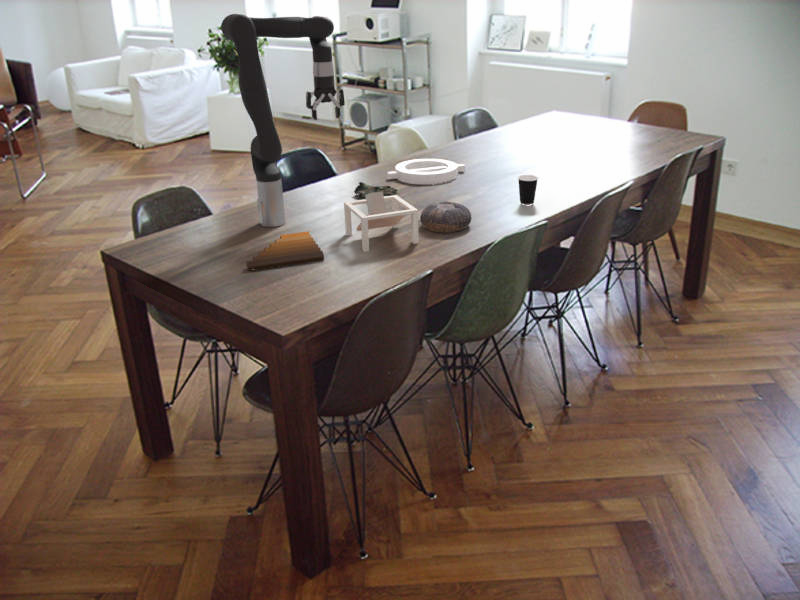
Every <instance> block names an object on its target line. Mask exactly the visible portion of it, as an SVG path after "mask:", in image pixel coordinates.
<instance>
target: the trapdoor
mask: <svg viewBox="0 0 800 600" xmlns="http://www.w3.org/2000/svg"><path fill="white" fill-rule="evenodd" d="M402 210H408V209H406V208H404V209H399V210H398V211H402ZM389 212H396V211H392V210H391V211H386V212H384V213H389ZM377 214H382V213H377ZM368 215H369V214H367V215H365V216H368ZM370 215H375V214H370ZM404 217H406V215H399V216H393V217H386V218H379V219H373V220H368V230H374V229H380V228H386V227H387V228H388V227H393V226H394V225H397V224H398V223H399V224H400V222H401V221H402V219H403V218H404ZM356 232H362V231H361V222H360V223H359V225H358V226H357V227H356Z"/></svg>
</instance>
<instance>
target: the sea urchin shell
mask: <svg viewBox="0 0 800 600" xmlns="http://www.w3.org/2000/svg"><path fill="white" fill-rule="evenodd" d="M419 218H420V223H421V225H423V227H424V228H425V229H427V230H430V231H431V232H434V233H435V232H436V233H442V234H444V233H445V234H448V233H453V232H454V231H455V232H458V231H460V230H462V231H463V230H464V229H466V228H467V227H468V226H469V225H470V224H471V223H472V222H471V221H472V212H471V211H470V209H469V208H468V207H466V206H465V205H463V204H461V203H457V202H455V201H447V200H445V201H440V202H435V203H431V204H429V205H427V206H425V207H424V208H423V209H422V211H421V214H420V216H419Z"/></svg>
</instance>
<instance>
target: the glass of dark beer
mask: <svg viewBox="0 0 800 600" xmlns="http://www.w3.org/2000/svg"><path fill="white" fill-rule="evenodd" d="M538 179H539V177H538V176H537V175H534V174H524V175H523V174H522V175H519V176H518V177H517V180H518V192H519V193H518V194H519V203H520V205H521V204H524V205H530V204H533V205H534V203H535V198H536V192H537V191H536V190H537V186H538Z"/></svg>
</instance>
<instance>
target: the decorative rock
mask: <svg viewBox="0 0 800 600" xmlns="http://www.w3.org/2000/svg"><path fill="white" fill-rule="evenodd" d="M382 191H383V196H384V197H385V196H392V195H397V193H396V192H398V191H399V190H397V188H394V187H391V185H386V186H385V185H384V186H383V185H381V186H372V185H369V184H366V183H365V182H363V181H360V182H358V185H357V186H356V187H355V189H354V191H353V193H354V194H357V195H360V196H361V197H362V200H364V199H366V197H365V195H367V194H369V193H374V192H382Z"/></svg>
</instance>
